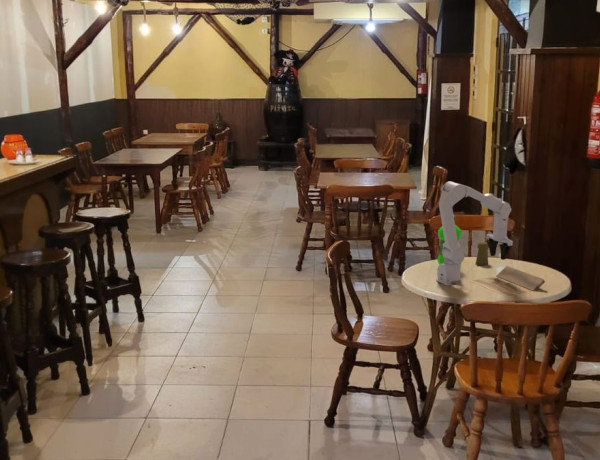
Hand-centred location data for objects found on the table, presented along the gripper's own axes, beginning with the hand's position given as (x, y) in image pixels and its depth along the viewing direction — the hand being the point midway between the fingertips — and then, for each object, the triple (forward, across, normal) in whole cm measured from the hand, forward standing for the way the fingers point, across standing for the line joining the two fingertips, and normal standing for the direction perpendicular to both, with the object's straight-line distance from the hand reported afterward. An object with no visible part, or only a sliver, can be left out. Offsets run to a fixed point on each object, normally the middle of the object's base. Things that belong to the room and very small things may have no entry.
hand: (498, 257), depth 297 cm
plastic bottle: (+10, +22, +10) cm, 26 cm away
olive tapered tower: (+10, +19, -8) cm, 23 cm away
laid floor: (+9, -13, +10) cm, 19 cm away
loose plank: (+7, -13, -2) cm, 15 cm away
